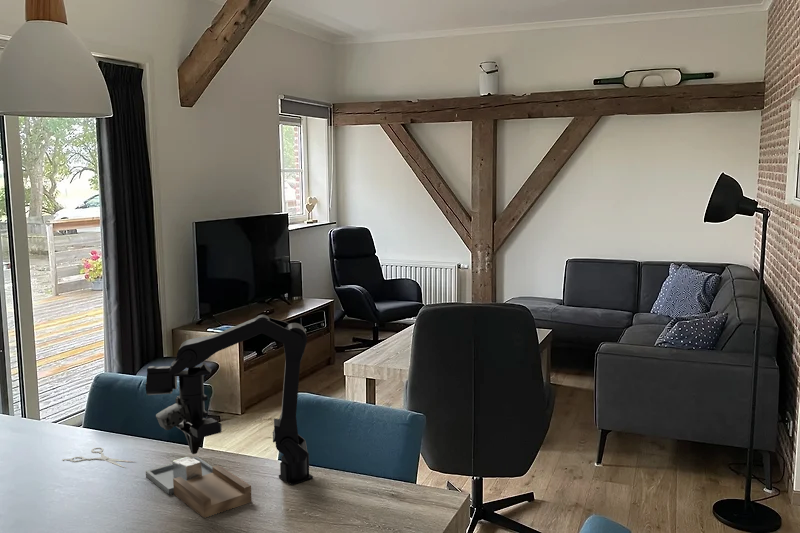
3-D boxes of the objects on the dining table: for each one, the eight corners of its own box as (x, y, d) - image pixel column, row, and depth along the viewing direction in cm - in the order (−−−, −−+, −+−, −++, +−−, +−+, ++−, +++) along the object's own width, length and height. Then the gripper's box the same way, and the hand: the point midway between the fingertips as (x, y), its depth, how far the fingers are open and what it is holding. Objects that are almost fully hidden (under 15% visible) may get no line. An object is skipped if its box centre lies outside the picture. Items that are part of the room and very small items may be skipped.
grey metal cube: (195, 475, 178) (188, 471, 181) (194, 460, 177) (187, 456, 180) (180, 480, 175) (173, 476, 178) (179, 464, 175) (172, 460, 178)
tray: (197, 461, 188) (196, 456, 188) (222, 478, 178) (221, 472, 178) (145, 476, 179) (145, 471, 179) (169, 495, 169) (168, 489, 169)
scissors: (93, 445, 199) (146, 456, 191) (93, 448, 199) (147, 459, 191) (61, 459, 189) (116, 471, 181) (61, 462, 189) (116, 474, 181)
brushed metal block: (195, 473, 178) (193, 458, 177) (202, 477, 175) (201, 462, 174) (180, 478, 175) (178, 462, 175) (187, 482, 172) (185, 466, 172)
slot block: (219, 480, 177) (218, 464, 176) (251, 501, 165) (251, 485, 165) (173, 494, 169) (173, 478, 168) (204, 518, 157) (203, 501, 157)
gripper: (143, 390, 172) (146, 451, 174) (176, 408, 158) (179, 474, 160) (186, 381, 179) (189, 439, 181) (221, 398, 165) (223, 461, 167)
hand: (194, 453), depth 172 cm, fingers closed
